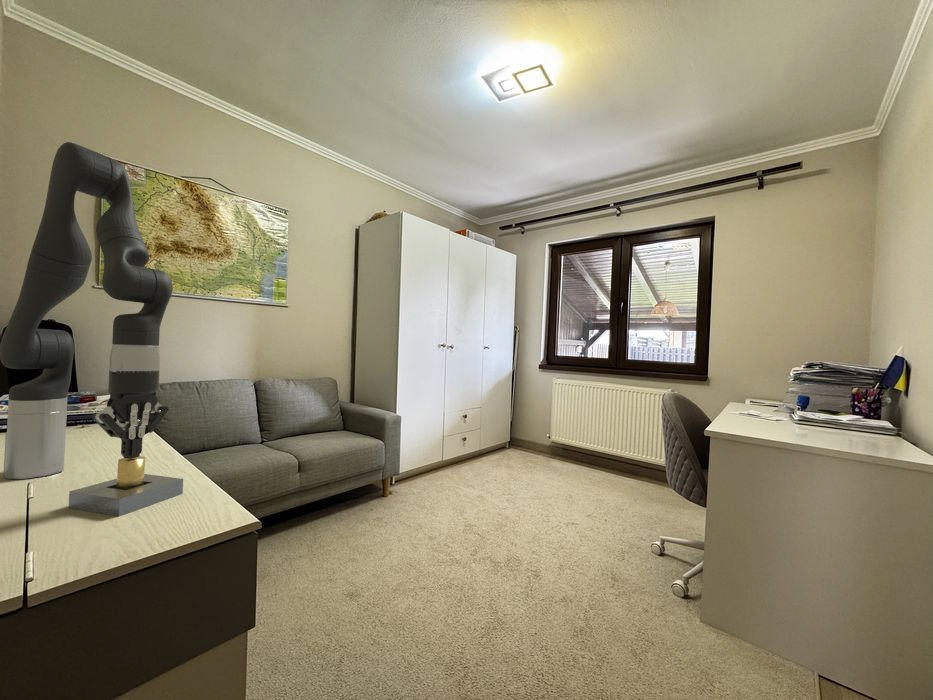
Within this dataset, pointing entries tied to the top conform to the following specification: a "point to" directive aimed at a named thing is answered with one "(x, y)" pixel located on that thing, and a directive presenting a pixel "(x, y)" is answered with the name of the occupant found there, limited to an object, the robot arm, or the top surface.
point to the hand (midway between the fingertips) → (131, 457)
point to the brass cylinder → (130, 473)
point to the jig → (124, 495)
